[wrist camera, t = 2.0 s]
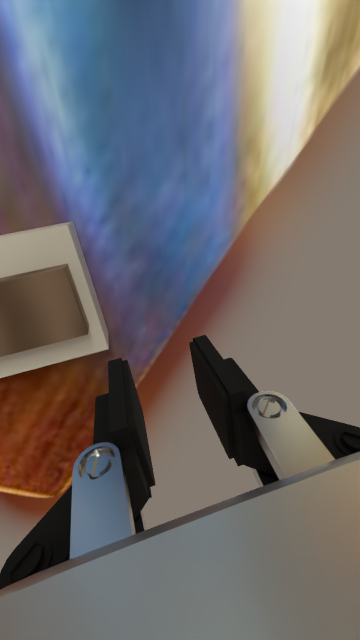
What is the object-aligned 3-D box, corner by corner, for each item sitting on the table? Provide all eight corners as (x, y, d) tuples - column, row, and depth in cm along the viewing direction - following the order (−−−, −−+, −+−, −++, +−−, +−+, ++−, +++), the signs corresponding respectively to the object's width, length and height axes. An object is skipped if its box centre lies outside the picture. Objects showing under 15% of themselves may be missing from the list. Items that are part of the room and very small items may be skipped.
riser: (72, 221, 26) (67, 224, 22) (108, 332, 31) (108, 349, 27) (-92, 253, 24) (-127, 262, 20) (-25, 366, 29) (-43, 389, 25)
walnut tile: (67, 263, 23) (64, 268, 22) (89, 325, 26) (88, 334, 24) (-47, 287, 22) (-60, 295, 20) (-12, 350, 25) (-21, 362, 23)
